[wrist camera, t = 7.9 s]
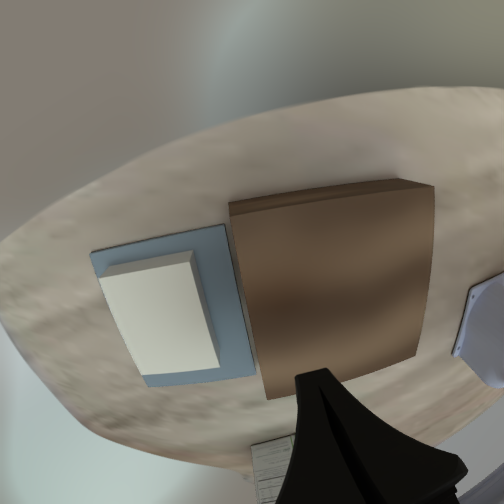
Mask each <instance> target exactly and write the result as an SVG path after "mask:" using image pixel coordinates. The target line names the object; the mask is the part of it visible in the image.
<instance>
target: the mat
mask: <svg viewBox="0 0 504 504" xmlns="http://www.w3.org/2000/svg"><path fill="white" fill-rule="evenodd" d="M190 250H193V252H194V256H195V260H196V264H197V268H198V272H199V276H200V280H201V284H202V287H203V291H204V295H205V299H206V302H207V306H208V310H209V313H210V317H211V321H212V324H213V328H214V331H215V335H216V338H217V341H218V345H219V348H220V367H218V368H211V369H203V370H194V371H185V372H175V373H164V374H150V375H142V377H143V379H144V380H145V382H146V384H147V386H148V387H160V386H173V385H185V384H195V383H203V382H212V381H219V380H226V379H233V378H239V377H245V376H251V375H256V370H255V366H254V361H253V357H252V353H251V348H250V344H249V339H248V335H247V330H246V326H245V321H244V317H243V312H242V307H241V303H240V298H239V293H238V289H237V284H236V279H235V275H234V270H233V265H232V260H231V255H230V250H229V245H228V240H227V235H226V230H225V225H224V224H221V225H216V226H210V227H205V228H200V229H195V230H190V231H185V232H181V233H176V234H171V235H166V236H161V237H157V238H152V239H148V240H143V241H138V242H134V243H129V244H125V245H121V246H116V247H112V248H108V249H103V250H99V251H95V252H91V253H90V254H89V255H90V258H91V261H92V264H93V267H94V270H95V273H96V275H97V278H99V277H100V276H101V275H102V274H103V273H104V272H105V271H106V269H107V268H108V267H109V266H113V265H118V264H123V263H128V262H133V261H138V260H144V259H149V258H154V257H159V256H164V255H169V254H175V253H180V252H185V251H190ZM98 281H99V279H98ZM99 283H100V282H99ZM100 286H101V285H100ZM101 289H102V287H101ZM102 291H103V290H102ZM103 294H104V293H103ZM104 296H105V295H104ZM105 299H106V298H105ZM106 301H107V300H106ZM107 304H108V303H107ZM108 306H109V305H108ZM109 309H110V308H109ZM110 311H111V310H110ZM111 313H112V312H111ZM112 316H113V315H112ZM113 318H114V317H113ZM114 320H115V319H114ZM116 325H117V324H116ZM117 327H118V326H117ZM118 329H119V328H118ZM121 336H122V335H121ZM122 338H123V337H122ZM123 340H124V339H123ZM124 342H125V341H124ZM137 368H138V367H137Z"/></svg>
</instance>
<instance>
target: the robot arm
mask: <svg viewBox="0 0 504 504" xmlns="http://www.w3.org/2000/svg"><path fill="white" fill-rule="evenodd" d="M458 355H459V356H460V357H461V358H462V359H463V360H464V361H465V362H466V363H467V365H468V366H469V367H470V368H471V369H472V370H473V371H474V372H475V373H476V374H477V375H478V376H479V378H480V379H481V380H482V381H483V382H484V383H485V384H487V385H489V386H491V387H494V388H503V387H504V273H502V274H500V275H498V276H496V277H494V278H491V279H489V280H487V281H485V282H483V283H481V284H479V285H476V286H474V287H472V288H471V289H470V291H469V296H468V300H467V305H466V309H465V313H464V317H463V321H462V324H461V328H460V331H459V335H458V338H457V341H456V344H455V347H454V350H453V353H452V356H453V357H457V356H458ZM294 379H295V388H296V397H297V405H298V414H297V425H296V433H295V440H294V445H293V450H292V454H291V458H290V462H289V466H288V469H287V473H286V476H285V479H284V482H283V484H282V487H281V490H280V492H279V495H278V497H277V500H276V502H275V504H504V463H503V464H502V465H500V466H499V467H498V468H497V469H496V470H495V471H493V472H492V473H491V474H490V475H489V476H487V477H486V478H485V479H484V480H482V481H481V482H480V483H478V484H477V485H476V486H474V487H473V488H472V489H470V490H469V491H467V492H466V493H465V494H463V495H462V496H460V497H459V498H457V497H456V495H455V493H456V492H457V489H456V487H455V485H456V484H457V483H458V482H459V481H460V480H461V479H462V478H464V476H466V475H467V473H468V469H467V467H466V466H465V464H464V463H463V461H462V460H461V459H460V458H459V457H458V455H456V454H452V453H449V452H445V451H442V450H439V449H436V448H434V447H431V446H429V445H426V444H424V443H421V442H419V441H417V440H415V439H413V438H411V437H409V436H407V435H405V434H403V433H402V432H400V431H398V430H396V429H395V428H393V427H392V426H390V425H389V424H387V423H386V422H384V421H383V420H381V419H380V418H379V417H377V416H376V415H375V414H373V413H372V412H371V411H370V410H368V409H367V408H366V407H365V406H364V405H362V404H361V403H360V402H359V401H358V400H357V399H356V398H355V397H354V396H353V395H352V394H351V393H350V392H349V391H348V390H347V389H346V388H345V387H344V386H343V385H342V384H341V383H340V382H339V381H338V380H337V379H336V377H335V376H334V375H333V374H332V373H331V371H330V370H329V369H328V368H322V369H318V370H314V371H310V372H306V373H302V374H297V375H296V376H295V377H294Z"/></svg>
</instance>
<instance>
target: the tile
mask: <svg viewBox="0 0 504 504" xmlns="http://www.w3.org/2000/svg"><path fill="white" fill-rule="evenodd" d="M98 279H99V282H100V285H101V287H102V290H103V293H104V295H105V298H106V300H107V303H108V305H109V308H110V310H111V312H112V315H113V317H114V319H115V322H116V324H117V326H118V328H119V331H120V333H121V335H122V337H123V339H124V341H125V344H126V346H127V348H128V350H129V352H130V354H131V356H132V358H133V360H134V362H135V364H136V366H137V367H138V369H139V371H140V373H141V375H150V374H164V373H175V372H185V371H194V370H203V369H211V368H218V367H220V348H219V345H218V341H217V338H216V335H215V331H214V328H213V324H212V321H211V317H210V313H209V310H208V306H207V302H206V299H205V295H204V291H203V287H202V284H201V280H200V276H199V272H198V268H197V264H196V260H195V256H194V252H193V250H190V251H185V252H180V253H175V254H169V255H164V256H159V257H154V258H149V259H144V260H138V261H133V262H128V263H123V264H118V265H113V266H109V267H108V268H107V269H106V271H105V272H104V273H103V274H102V275H101V276H100V277H99V278H98Z"/></svg>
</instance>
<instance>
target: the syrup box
mask: <svg viewBox="0 0 504 504" xmlns="http://www.w3.org/2000/svg"><path fill="white" fill-rule="evenodd" d="M294 440H295V434H294V435H291V436H287V437H284V438H280V439H276V440H273V441H269V442H265V443H261V444H257V445H253V446H251V453H252V462H253V472H254V481H255V488H256V497H257V504H275V502H276V500H277V497H278V495H279V492H280V490H281V487H282V484H283V482H284V479H285V476H286V473H287V469H288V466H289V462H290V458H291V454H292V450H293V445H294Z"/></svg>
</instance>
